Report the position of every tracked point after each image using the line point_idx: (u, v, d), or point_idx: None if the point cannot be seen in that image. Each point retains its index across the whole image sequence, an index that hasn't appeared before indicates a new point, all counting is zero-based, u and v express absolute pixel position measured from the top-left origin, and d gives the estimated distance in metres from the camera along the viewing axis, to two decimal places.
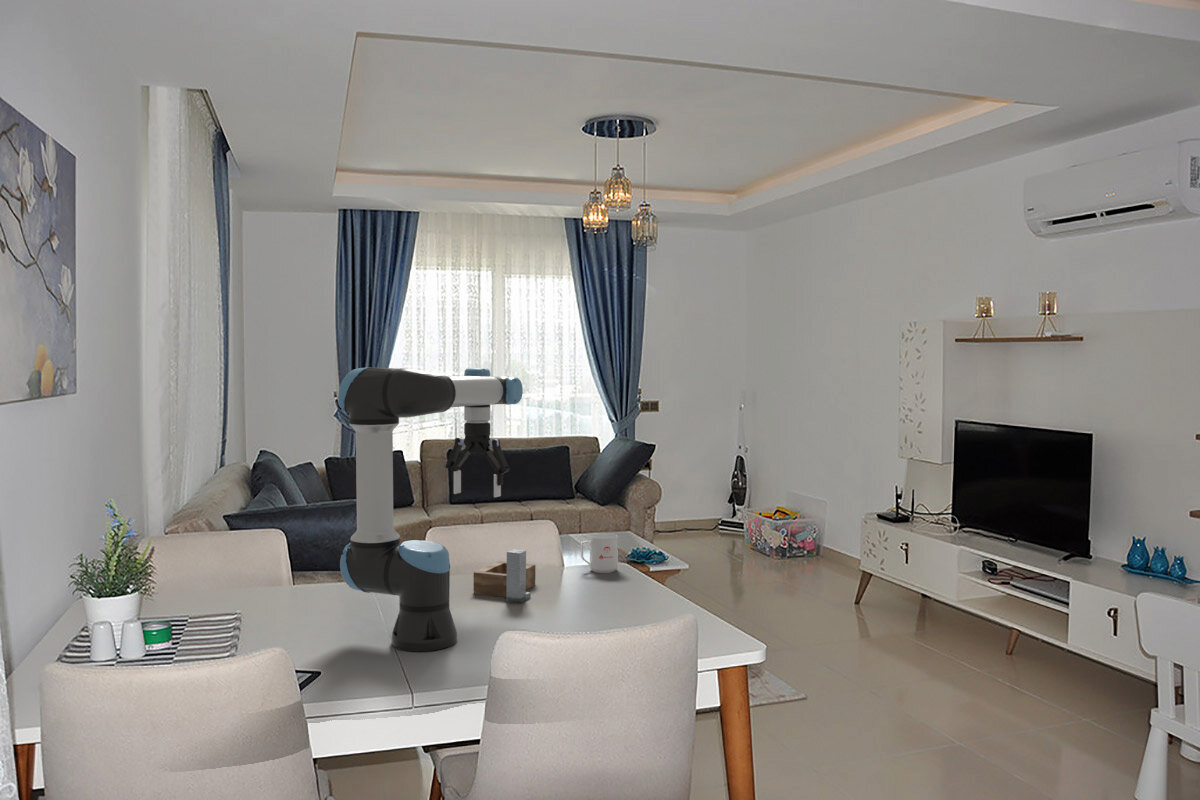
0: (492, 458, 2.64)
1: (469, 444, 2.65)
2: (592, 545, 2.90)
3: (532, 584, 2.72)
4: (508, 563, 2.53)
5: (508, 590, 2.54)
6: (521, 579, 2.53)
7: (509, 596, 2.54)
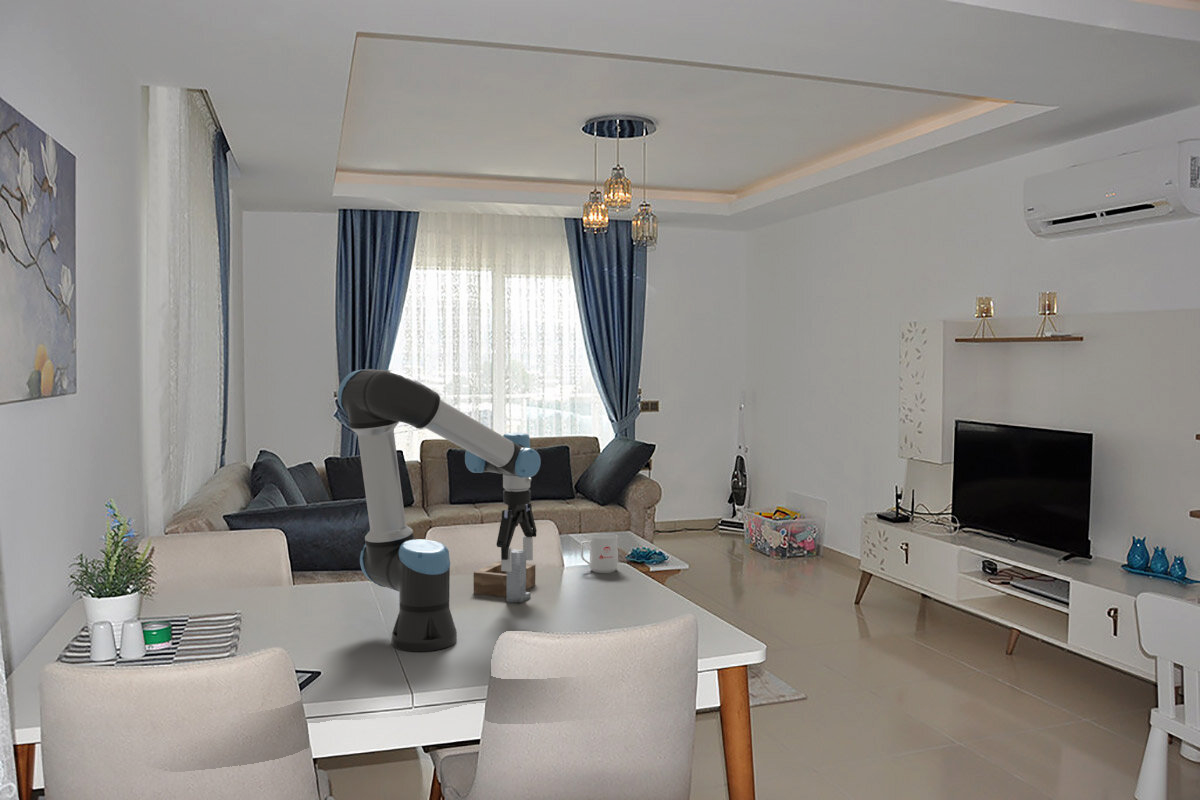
0: None
1: None
2: (592, 545, 2.90)
3: (532, 584, 2.72)
4: None
5: (508, 590, 2.54)
6: (521, 579, 2.53)
7: (509, 596, 2.54)
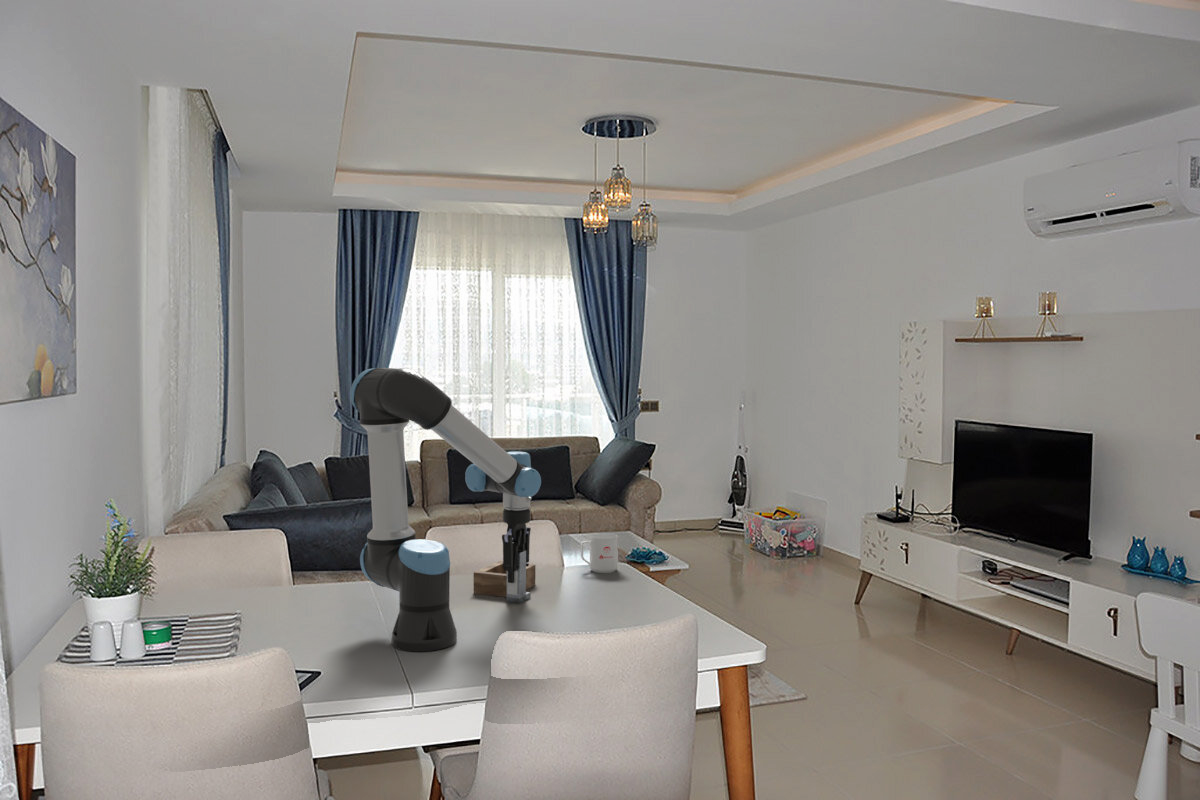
0: None
1: None
2: (592, 545, 2.90)
3: (532, 584, 2.72)
4: None
5: None
6: (521, 579, 2.53)
7: (509, 596, 2.54)
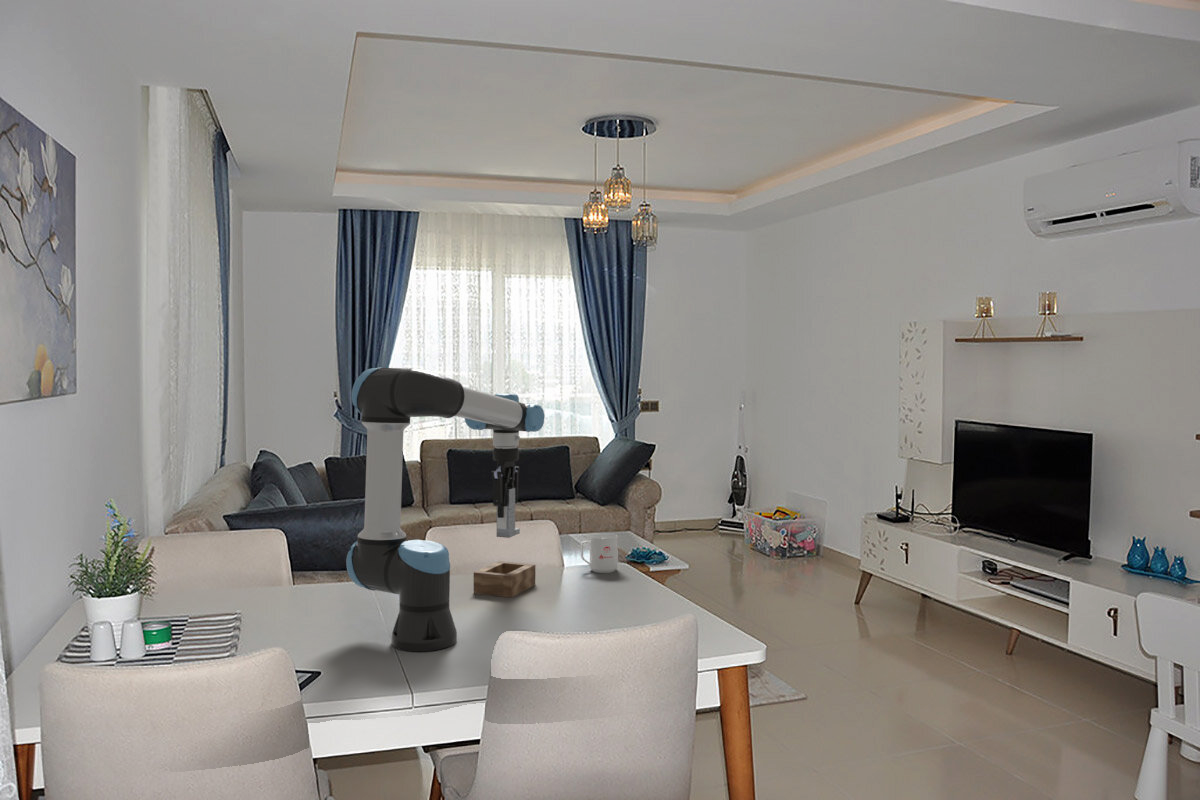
0: None
1: None
2: (592, 545, 2.90)
3: (532, 584, 2.72)
4: None
5: None
6: (510, 514, 2.66)
7: (499, 531, 2.66)
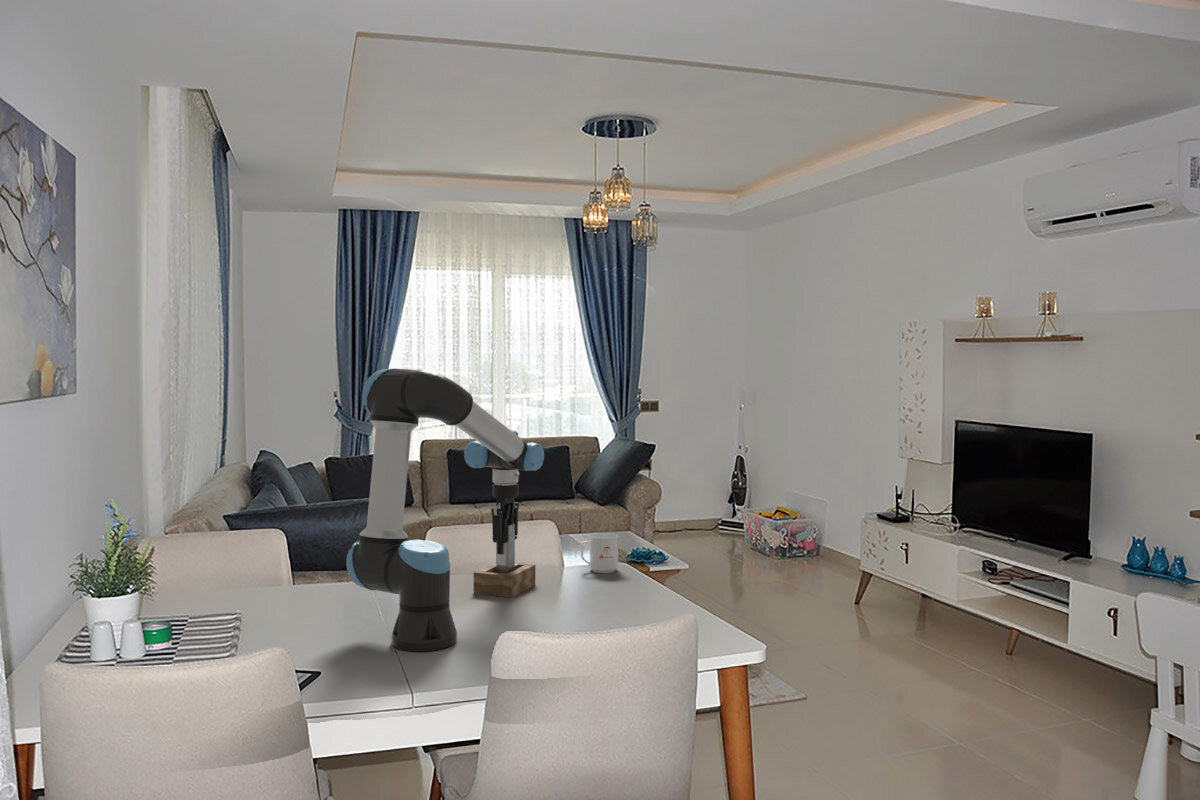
0: None
1: None
2: (592, 545, 2.90)
3: (532, 584, 2.72)
4: None
5: None
6: (510, 551, 2.67)
7: (499, 567, 2.67)
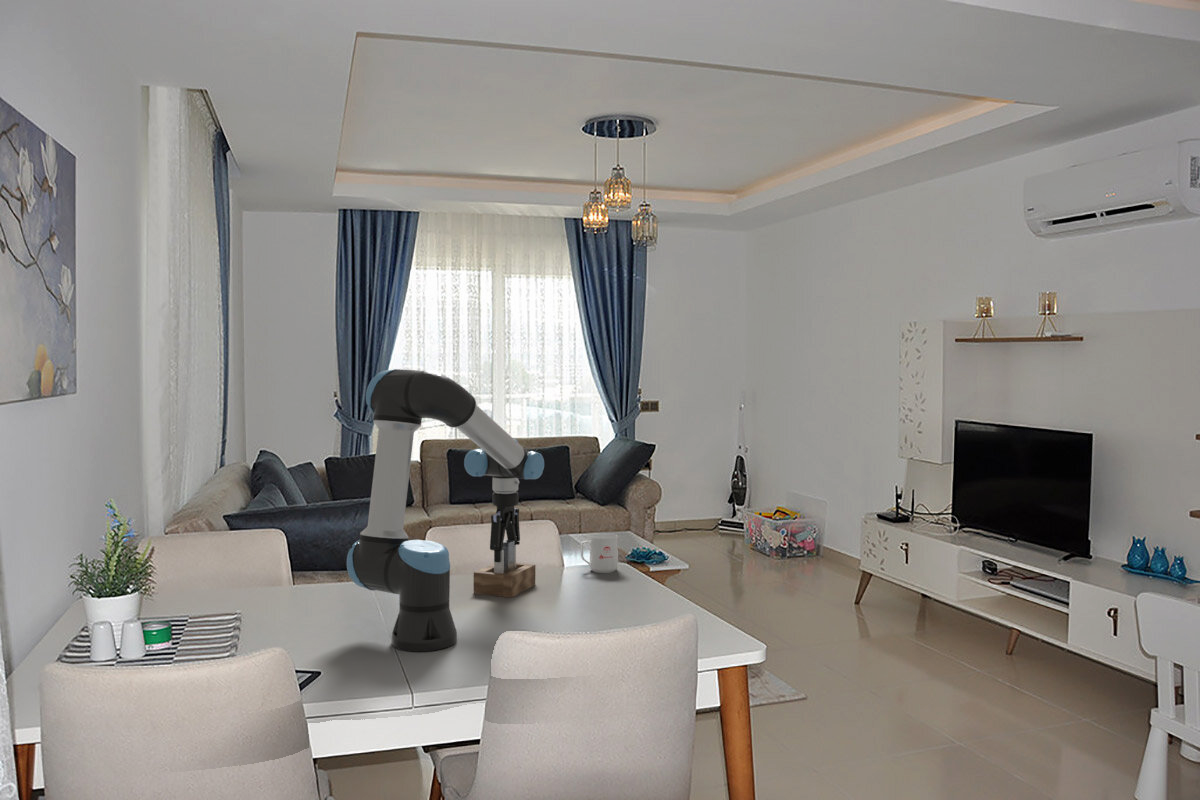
0: None
1: None
2: (592, 545, 2.90)
3: (532, 584, 2.72)
4: None
5: None
6: (509, 568, 2.67)
7: None
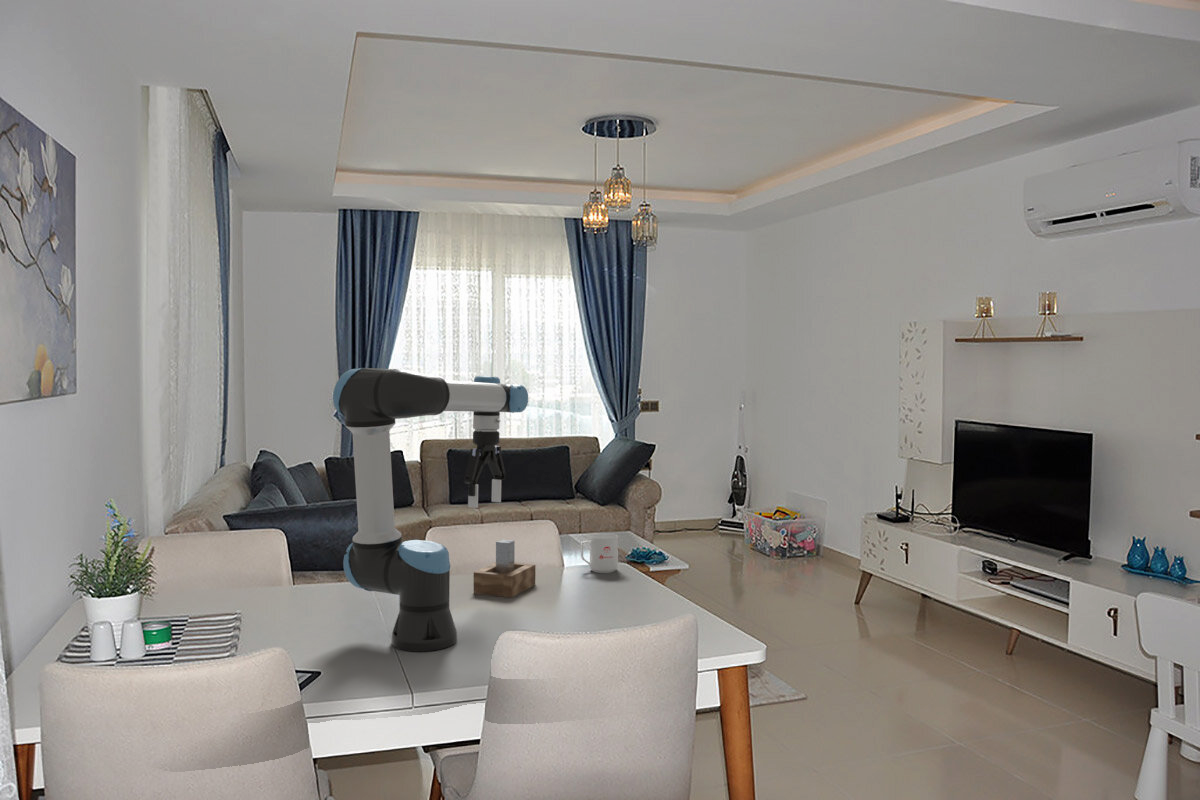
0: None
1: None
2: (592, 545, 2.90)
3: (532, 584, 2.72)
4: (497, 552, 2.67)
5: None
6: (509, 568, 2.67)
7: None
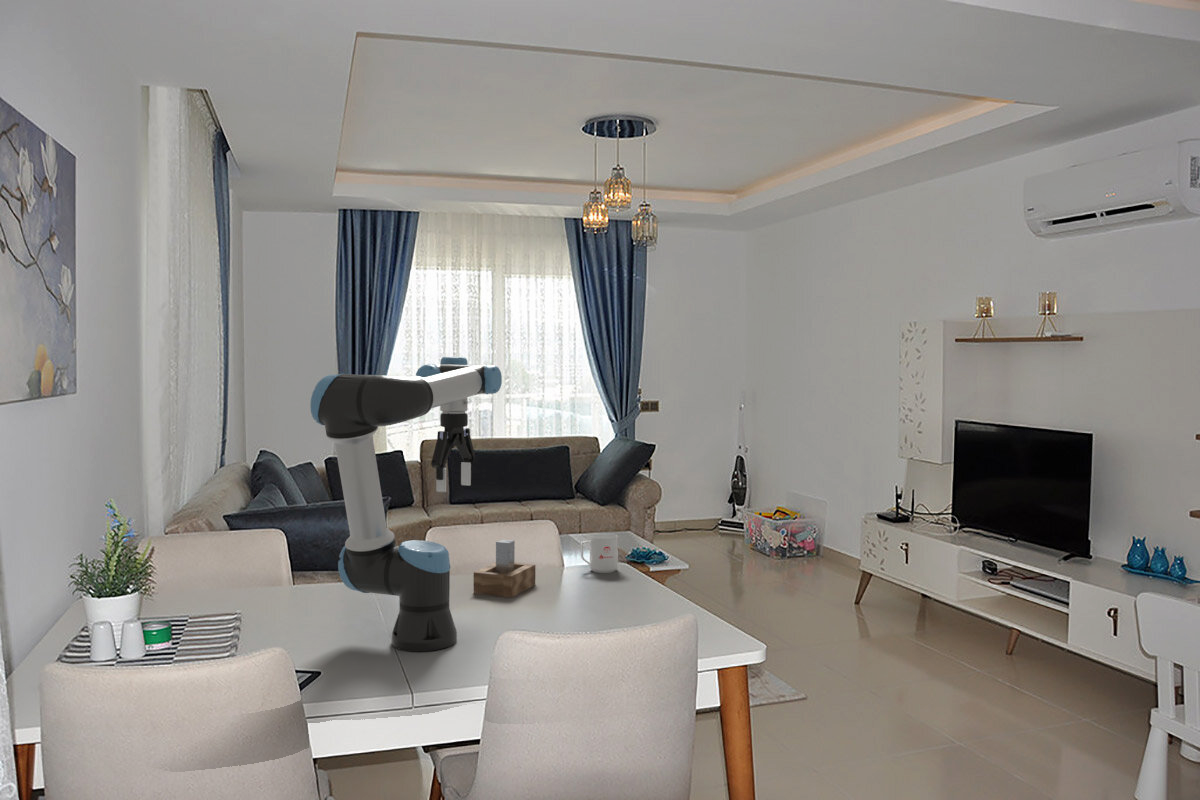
0: None
1: None
2: (592, 545, 2.90)
3: (532, 584, 2.72)
4: (497, 552, 2.67)
5: None
6: (509, 568, 2.67)
7: None
